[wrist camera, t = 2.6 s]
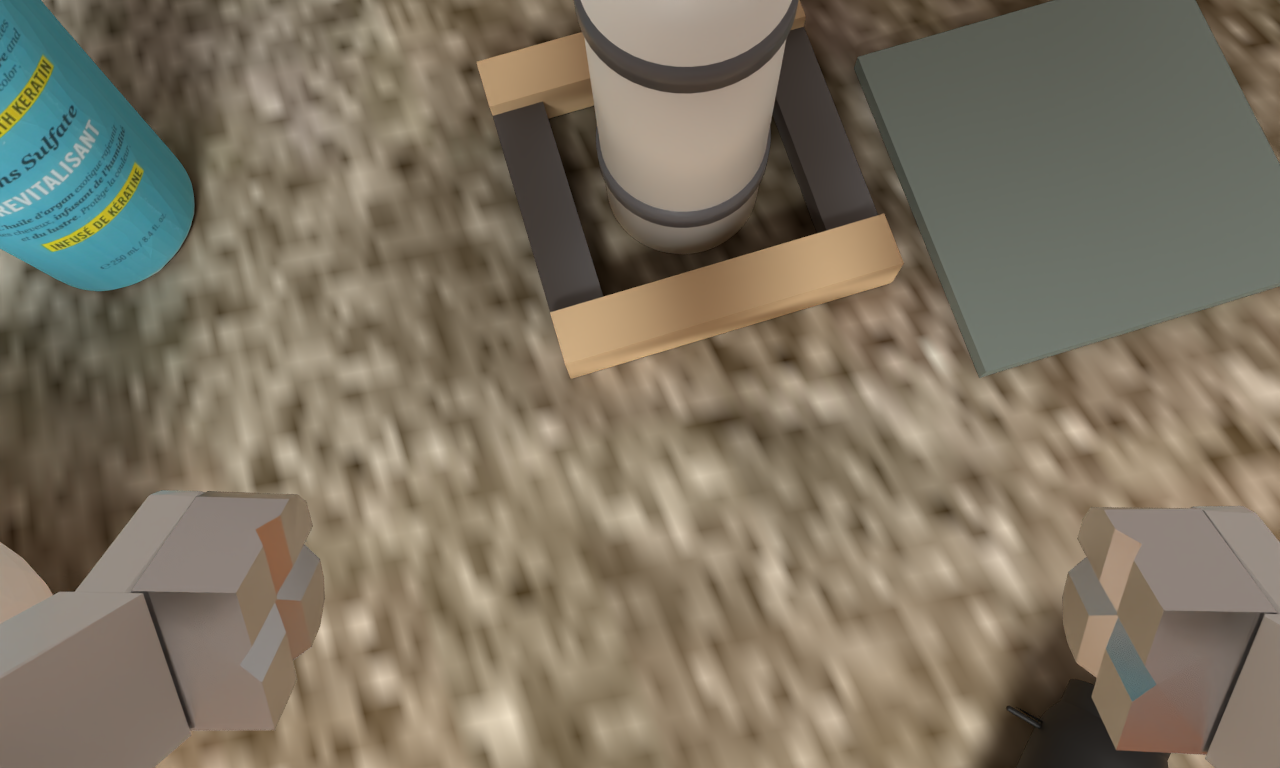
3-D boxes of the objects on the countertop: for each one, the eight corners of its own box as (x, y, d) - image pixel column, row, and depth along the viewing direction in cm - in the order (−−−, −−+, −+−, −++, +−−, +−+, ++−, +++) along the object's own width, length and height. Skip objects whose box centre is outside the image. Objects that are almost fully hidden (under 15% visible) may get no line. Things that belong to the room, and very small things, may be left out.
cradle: (783, 4, 30) (788, -27, 29) (891, 282, 28) (904, 263, 27) (485, 89, 30) (476, 62, 29) (571, 378, 28) (565, 364, 26)
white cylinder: (732, 94, 30) (765, -211, 19) (782, 231, 29) (847, -13, 18) (584, 136, 30) (534, -147, 19) (629, 276, 28) (602, 58, 18)
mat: (1167, -23, 30) (1176, -36, 30) (1318, 274, 28) (1332, 266, 27) (853, 68, 30) (857, 56, 29) (979, 377, 27) (986, 372, 27)
